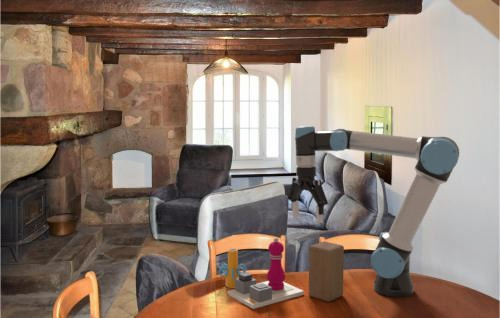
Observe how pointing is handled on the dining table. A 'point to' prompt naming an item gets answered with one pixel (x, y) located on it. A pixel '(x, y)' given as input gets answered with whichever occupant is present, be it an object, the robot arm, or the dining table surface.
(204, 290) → the dining table surface
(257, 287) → the block
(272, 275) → the pepper mill
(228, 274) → the yellow post with loops
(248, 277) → the block
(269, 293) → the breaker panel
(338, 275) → the wooden block
